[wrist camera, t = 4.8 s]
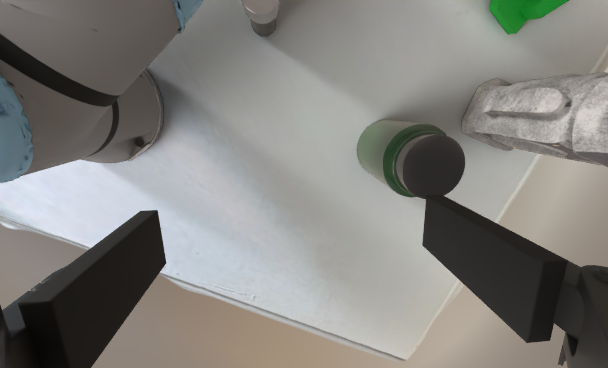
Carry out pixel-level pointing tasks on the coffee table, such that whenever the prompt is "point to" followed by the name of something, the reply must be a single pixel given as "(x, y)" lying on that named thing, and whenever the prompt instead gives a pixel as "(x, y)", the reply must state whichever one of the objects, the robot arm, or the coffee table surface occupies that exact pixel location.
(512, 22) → the bracket
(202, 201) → the coffee table surface
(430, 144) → the bottle
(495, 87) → the figurine
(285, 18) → the coffee table surface
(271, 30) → the flashlight
